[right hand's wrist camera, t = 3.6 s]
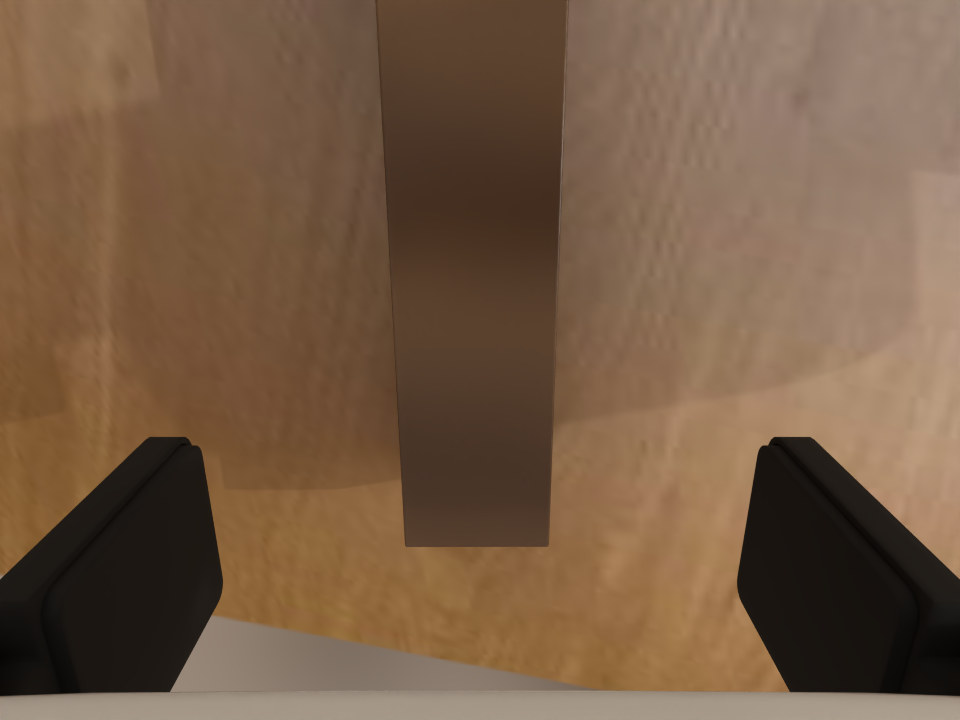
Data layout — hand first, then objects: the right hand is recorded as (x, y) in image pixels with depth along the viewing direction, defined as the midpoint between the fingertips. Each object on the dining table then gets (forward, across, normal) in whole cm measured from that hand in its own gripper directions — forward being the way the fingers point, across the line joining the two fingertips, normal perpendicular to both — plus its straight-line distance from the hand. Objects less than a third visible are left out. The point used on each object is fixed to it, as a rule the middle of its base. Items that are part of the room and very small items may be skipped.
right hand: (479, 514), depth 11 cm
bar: (+17, 0, -31) cm, 35 cm away
